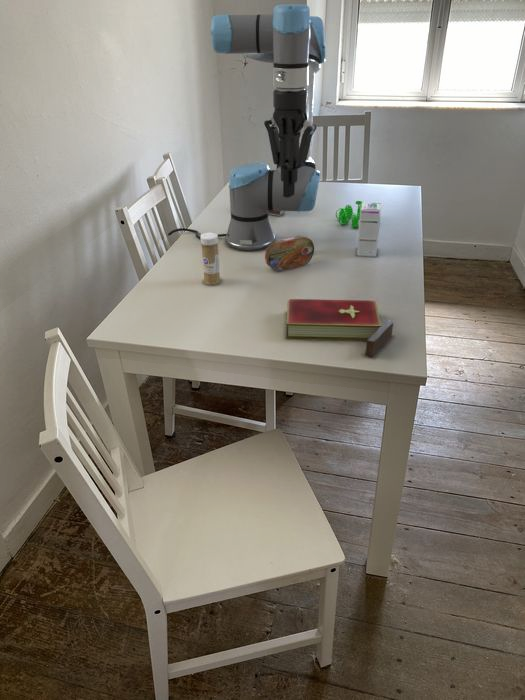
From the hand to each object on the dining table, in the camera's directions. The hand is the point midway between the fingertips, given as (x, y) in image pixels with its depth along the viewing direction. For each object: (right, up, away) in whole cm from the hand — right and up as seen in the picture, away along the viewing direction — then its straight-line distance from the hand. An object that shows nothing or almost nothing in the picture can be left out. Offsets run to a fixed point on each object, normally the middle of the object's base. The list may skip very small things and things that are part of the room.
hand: (288, 195), depth 129 cm
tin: (+1, -14, +23) cm, 27 cm away
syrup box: (+25, -8, +31) cm, 40 cm away
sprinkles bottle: (-20, -19, +16) cm, 32 cm away
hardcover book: (+10, -32, -4) cm, 34 cm away
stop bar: (+19, -37, -11) cm, 43 cm away
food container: (-3, +16, +58) cm, 60 cm away
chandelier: (+26, +6, +51) cm, 58 cm away
